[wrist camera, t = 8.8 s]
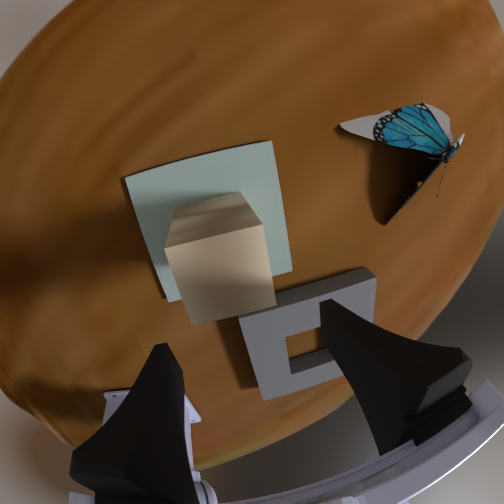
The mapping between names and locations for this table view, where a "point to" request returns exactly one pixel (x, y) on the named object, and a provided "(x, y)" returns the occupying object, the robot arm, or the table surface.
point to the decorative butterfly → (410, 132)
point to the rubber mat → (205, 187)
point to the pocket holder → (299, 320)
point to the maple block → (219, 259)
